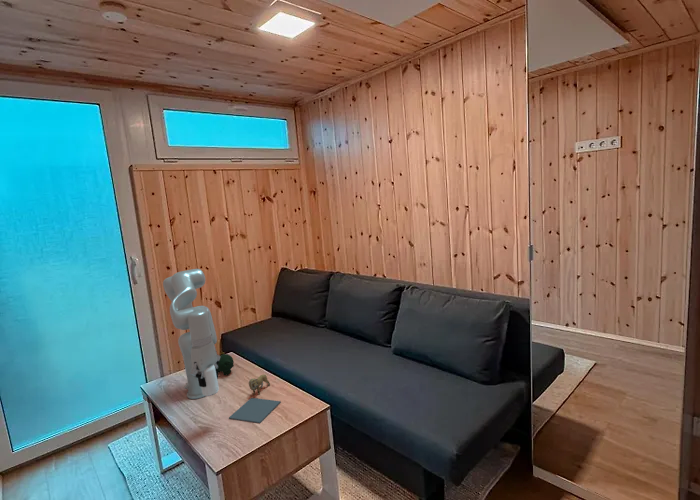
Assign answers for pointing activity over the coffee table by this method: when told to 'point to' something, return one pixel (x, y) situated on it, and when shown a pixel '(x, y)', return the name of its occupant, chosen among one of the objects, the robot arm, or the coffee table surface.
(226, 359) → the toy figurine
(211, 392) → the can
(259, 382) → the lion figurine
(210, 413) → the coffee table surface
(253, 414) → the mat
